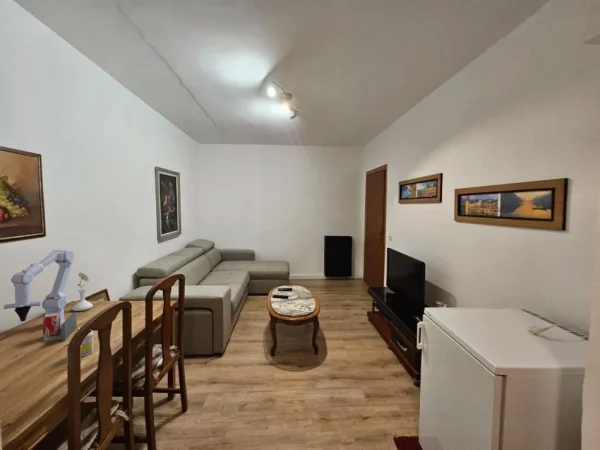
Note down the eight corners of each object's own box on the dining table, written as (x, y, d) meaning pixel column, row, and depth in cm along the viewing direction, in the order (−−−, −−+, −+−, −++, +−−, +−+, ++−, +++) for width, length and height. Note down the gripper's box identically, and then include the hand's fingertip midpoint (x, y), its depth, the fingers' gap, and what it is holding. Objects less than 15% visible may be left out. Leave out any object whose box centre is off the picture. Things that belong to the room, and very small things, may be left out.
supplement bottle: (80, 350, 139) (80, 324, 138) (95, 349, 140) (95, 323, 140) (73, 357, 132) (72, 330, 132) (89, 356, 134) (89, 329, 133)
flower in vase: (94, 309, 193) (94, 273, 192) (73, 313, 185) (73, 275, 183) (89, 304, 202) (89, 270, 200) (69, 308, 193) (69, 272, 192)
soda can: (48, 340, 148) (48, 317, 147) (39, 338, 150) (39, 315, 149) (63, 334, 155) (63, 313, 154) (54, 332, 157) (54, 311, 156)
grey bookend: (55, 329, 161) (55, 314, 160) (76, 327, 164) (76, 312, 164) (41, 343, 144) (41, 326, 144) (65, 340, 148) (64, 324, 147)
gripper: (-1, 298, 142) (0, 325, 142) (37, 296, 148) (37, 321, 148) (7, 294, 148) (8, 320, 149) (43, 292, 154) (43, 316, 155)
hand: (23, 320), depth 149 cm, fingers closed
